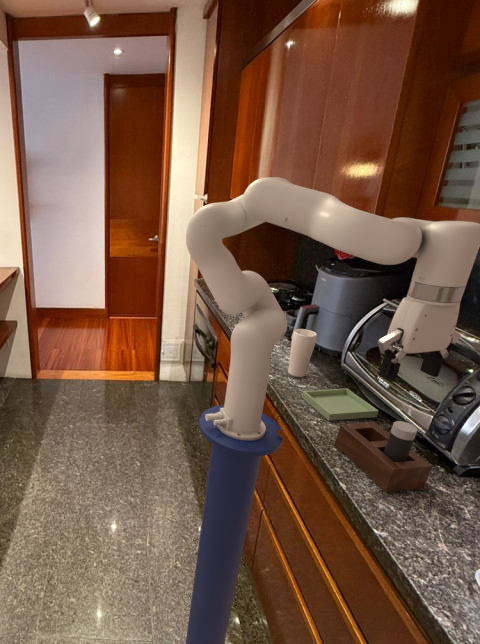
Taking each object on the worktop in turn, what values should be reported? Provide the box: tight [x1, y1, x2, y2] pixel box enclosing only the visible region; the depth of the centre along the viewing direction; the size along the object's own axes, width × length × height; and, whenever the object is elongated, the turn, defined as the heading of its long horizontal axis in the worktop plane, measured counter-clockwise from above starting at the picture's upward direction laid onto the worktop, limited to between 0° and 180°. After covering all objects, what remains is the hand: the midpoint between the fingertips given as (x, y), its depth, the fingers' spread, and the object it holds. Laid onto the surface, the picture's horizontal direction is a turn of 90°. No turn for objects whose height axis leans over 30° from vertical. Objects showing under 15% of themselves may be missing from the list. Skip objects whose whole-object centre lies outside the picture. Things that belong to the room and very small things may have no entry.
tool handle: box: [384, 420, 419, 462], centre depth 83 cm, size 4×4×13 cm
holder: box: [334, 421, 433, 493], centre depth 87 cm, size 9×16×6 cm, turn 7°
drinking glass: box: [287, 328, 318, 378], centre depth 126 cm, size 7×7×15 cm
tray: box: [301, 388, 379, 422], centre depth 110 cm, size 14×12×2 cm
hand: (407, 376), depth 76 cm, fingers open, 9 cm apart
